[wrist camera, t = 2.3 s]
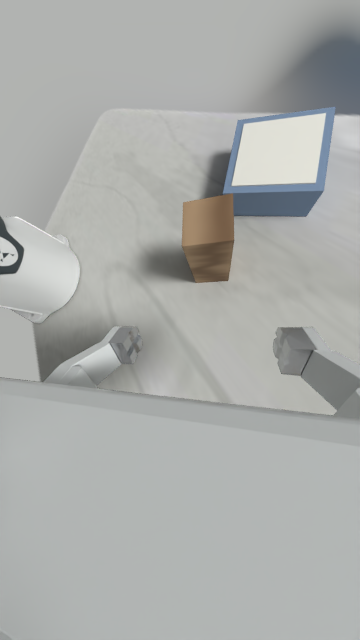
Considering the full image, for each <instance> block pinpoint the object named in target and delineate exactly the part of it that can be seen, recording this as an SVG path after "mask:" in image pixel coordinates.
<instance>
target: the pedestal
mask: <svg viewBox="0 0 360 640" xmlns="http://www.w3.org/2000/svg"><path fill="white" fill-rule="evenodd" d="M335 108H336V107H330V108H324V109H316V110H309V111H301V112H294V113H287V114H280V115H273V116H265V117H258V118H251V119H244V120H238V122H237V127H236V132H235V137H234V142H233V146H232V151H231V156H230V161H229V166H228V171H227V175H226V180H225V185H224V190H223V195H226V194H231V193H233V214H234V216H307V214H308V213H309V212H310V210H311V209H312V207H313V206H314V204H315V203H316V201H317V200H318V198H319V197H320V195H321V194H322V193H323V191H324V185H325V178H326V171H327V164H328V157H329V150H330V143H331V136H332V129H333V122H334V115H335Z"/></svg>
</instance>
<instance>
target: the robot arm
mask: <svg viewBox="0 0 360 640" xmlns="http://www.w3.org/2000/svg"><path fill="white" fill-rule="evenodd" d="M79 276H80V267H79V262H78V259H77V257H76V255H75V254H74V253H73V252H72V250H71V249H70V247H69V242H68V239H67V238H66V237H64V236H63V235H54V236H51V235H49V234H47V233H46V232H44V231H42V230H40V229H39V228H37V227H35V226H33V225H31V224H30V223H28V222H26V221H24V220H23V219H21V218H19V217H16V216H15V217H5V218H2V217H0V307H2V308H7V309H11V310H13V311H14V312H16V313H18V314H19V315H21V316H23V317H24V318H26V319H28V320H30V321H31V322H33V323H38V324H40V323H42V322H43V321H44V320H45V319H46V318H47V317H48V316H49V315H50V314H51V313H53V312H55V311H57V310H58V309H60V308H61V307H63V306H64V305H65V304H66V303H67V302H68V301H69V300H70V298H71V297H72V295H73V294H74V292H75V290H76V288H77V285H78V281H79ZM138 333H139V330H138V328H137V327H134V326H115V327H113V328H112V329H111V330H110V332H109V333H108V334H107V335H106V336H105V338H104V339H103V340H102V341H101V342H100V343H97V344H95V345H93V346H92V347H90V348H88V349H86V350H84V351H83V352H81V353H79V354H77V355H76V356H74V357H72V358H70V359H68V360H67V361H65V362H63V363H61V364H60V365H59V366H58V367H57V368H56V369H55V370H54V371H53V372H52V373H51V374H50V375H49V376H48V377H47V378H46V380H45V381H44V382H36V381H28V380H18V379H10V378H1V377H0V640H360V364H359V363H357V362H355V361H353V360H351V359H349V358H348V357H346V356H344V355H342V354H340V353H338V352H337V351H331V349H330V348H329V347H328V345H327V344H326V343H325V341H324V340H323V339H322V337H321V336H320V335H319V333H318V332H317V331H316V329H315V328H313V327H278V328H277V330H276V335H277V338H275V339H274V342H273V352H274V355H275V357H276V358H278V359H279V360H278V366H279V369H280V372H281V374H287V375H298V376H301V377H302V378H303V379H304V380H305V381H306V382H307V383H308V384H309V385H310V386H311V387H312V388H313V389H315V390H316V391H317V392H318V393H319V394H320V395H321V396H322V397H323V398H324V399H325V400H326V401H327V402H329V403H330V404H331V405H332V406H333V407H334V408H335V409H336V410H337V412H336V413H335V414H334V415H324V414H315V413H306V412H298V411H289V410H280V409H272V408H263V407H254V406H245V405H237V404H228V403H219V402H210V401H201V400H193V399H184V398H175V397H167V396H158V395H149V394H141V393H132V392H123V391H114V390H106V389H98V387H97V385H98V384H99V383H100V382H101V381H103V380H104V379H105V378H106V377H107V376H108V375H109V374H111V373H112V372H113V371H114V370H115V369H116V368H118V367H119V366H120V365H121V364H134V362H135V360H136V358H137V352H139V351H140V350H141V348H142V343H143V342H142V338H141V336H140V335H139V334H138Z"/></svg>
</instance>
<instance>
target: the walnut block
mask: <svg viewBox="0 0 360 640" xmlns="http://www.w3.org/2000/svg"><path fill="white" fill-rule="evenodd" d="M233 244H234V214H233V193H231V194H226V195H221V196H216V197H210V198H205V199H200V200H194V201H189V202H184V203H183V227H182V248H183V250H184V253H185V256H186V258H187V261H188V263H189V266H190V269H191V271H192V274H193V277H194V279H195V282H196V283H202V282H218V281H228V279H229V272H230V265H231V258H232V251H233Z"/></svg>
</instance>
